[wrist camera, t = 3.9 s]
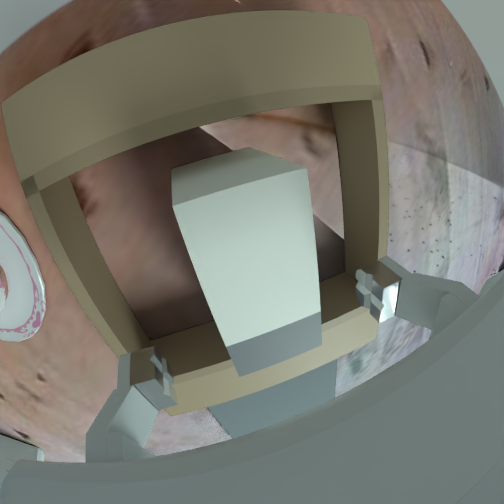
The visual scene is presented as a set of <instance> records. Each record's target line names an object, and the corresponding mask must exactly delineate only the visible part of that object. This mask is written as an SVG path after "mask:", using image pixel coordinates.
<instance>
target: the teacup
mask: <svg viewBox="0 0 504 504" xmlns="http://www.w3.org/2000/svg"><path fill="white" fill-rule="evenodd" d="M0 265H1V267H2V268H3V270H4V272H5V275H6V278H7V282H8V294H7V297H6V295H5V290H4V286H3V283H2V280H1V276H0V339H1V340H4V341H22V340H25V339H27V338H30V337H32V336H33V335H34V334H35V333H36V331H37V330H38V329H39V328H40V327H41V325H42V322H43V318H44V315H45V311H46V294H45V284H44V281H43V278H42V275H41V272H40V269H39V265H38V262H37V260H36V258H35V256H34V254H33V253H32V251H31V249H30V247H29V245H28V243H27V241H26V239H25V237H24V236H23V235H22V234H21V232H20V231H19V230H18V229H17V228H16V226H15V225H14V224H13V223H12V221H11V220H10V219H9V218H8V216H7V215H5V214H4V213H2V212H1V211H0Z"/></svg>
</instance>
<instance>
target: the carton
mask: <svg viewBox="0 0 504 504" xmlns="http://www.w3.org/2000/svg"><path fill="white" fill-rule="evenodd" d="M321 103H331V107H332V113H333V120H334V127H335V134H336V142H337V150H338V159H339V168H340V178H341V190H342V203H343V220H344V243H345V272H343V273H341V274H338V275H336V276H334V277H331V278H329V279H326V280H324V281H321V282H319V291H320V307H321V328H322V345H321V346H319V347H316V348H314V349H312V350H309V351H307V352H305V353H302V354H300V355H297V356H295V357H293V358H290V359H288V360H285V361H283V362H280V363H277V364H275V365H272V366H269V367H267V368H264V369H261V370H259V371H256V372H253V373H250V374H247V375H244V376H241V377H239V375H238V373H237V371H236V368H235V366H234V364H233V362H232V359H231V357H230V355H229V353H228V350H227V348H226V346H225V343H224V341H223V339H222V336H221V334H220V332H219V329H218V327H217V324H216V322H215V320H214V321H211V322H208V323H205V324H202V325H199V326H196V327H193V328H190V329H186V330H183V331H180V332H177V333H173V334H170V335H167V336H164V337H160V338H157V339H153V340H149V338H148V337H147V335H146V334H145V332H144V330H143V329H142V327H141V326H140V324H139V322H138V321H137V319H136V317H135V316H134V314H133V312H132V311H131V309H130V307H129V306H128V304H127V302H126V300H125V299H124V297H123V295H122V293H121V291H120V290H119V288H118V286H117V284H116V282H115V280H114V278H113V276H112V275H111V273H110V271H109V269H108V267H107V265H106V263H105V261H104V259H103V257H102V255H101V253H100V250H99V248H98V246H97V244H96V242H95V240H94V238H93V235H92V233H91V231H90V229H89V226H88V224H87V222H86V219H85V217H84V214H83V212H82V210H81V207H80V205H79V202H78V199H77V197H76V194H75V192H74V189H73V186H72V183H71V181H70V178H69V175H71V174H73V173H75V172H77V171H79V170H82V169H84V168H86V167H88V166H90V165H93V164H95V163H97V162H99V161H102V160H104V159H106V158H109V157H111V156H114V155H116V154H119V153H121V152H124V151H126V150H129V149H132V148H134V147H137V146H140V145H142V144H145V143H148V142H151V141H154V140H157V139H160V138H163V137H166V136H169V135H172V134H175V133H179V132H182V131H185V130H189V129H192V128H196V127H200V126H203V125H207V124H211V123H215V122H219V121H223V120H227V119H231V118H236V117H240V116H245V115H250V114H255V113H260V112H266V111H271V110H277V109H283V108H290V107H297V106H304V105H312V104H321ZM1 107H2V113H3V118H4V123H5V128H6V133H7V137H8V141H9V145H10V149H11V152H12V156H13V159H14V163H15V166H16V169H17V173H18V176H19V179H20V182H21V185H22V187H23V190H24V193H25V196H26V198H27V201H28V204H29V206H30V209H31V211H32V213H33V216H34V218H35V221H36V223H37V225H38V227H39V230H40V232H41V234H42V236H43V238H44V240H45V243H46V245H47V247H48V249H49V251H50V253H51V255H52V257H53V259H54V260H55V262H56V264H57V266H58V268H59V270H60V272H61V273H62V275H63V277H64V279H65V280H66V282H67V284H68V286H69V287H70V289H71V291H72V292H73V294H74V296H75V297H76V299H77V300H78V302H79V304H80V305H81V307H82V308H83V310H84V311H85V313H86V314H87V316H88V317H89V319H90V320H91V322H92V323H93V325H94V326H95V328H96V329H97V330H98V332H99V333H100V335H101V336H102V337H103V339H104V340H105V342H106V343H107V344H108V346H109V347H110V348H111V349H112V351H113V352H114V353H115V355H116V356H117V357H118V358H119V357H120V355H123V354H127V353H131V352H134V351H138V350H141V349H145V348H149V347H152V346H157V347H158V349H159V350H160V351H161V357H162V358H164V359H166V360H167V361H168V363H169V365H170V367H171V369H172V372H173V375H174V381H175V382H174V383H173V385H172V387H173V388H174V389H175V390H176V395H177V401H178V405H176V406H172V407H169V408H165V409H164V410H165V411H166V412H167V413H168V414H169V415H170V416H175V415H179V414H183V413H187V412H191V411H195V410H199V409H203V408H207V407H210V406H214V405H217V404H220V403H224V402H227V401H230V400H234V399H237V398H240V397H243V396H246V395H249V394H252V393H255V392H257V391H260V390H263V389H266V388H268V387H271V386H274V385H276V384H279V383H282V382H284V381H287V380H289V379H292V378H294V377H297V376H299V375H301V374H304V373H306V372H308V371H311V370H313V369H315V368H318V367H320V366H322V365H324V364H326V363H328V362H331V361H333V360H335V359H337V358H339V357H341V356H343V355H345V354H347V353H349V352H351V351H353V350H355V349H357V348H359V347H361V346H363V345H365V344H367V343H368V342H370V341H372V340H374V339H376V337H377V331H378V325H379V322H378V321H377V320H376V319H375V318H374V317H373V316H372V315H371V314H370V309H368V308H365V307H363V306H362V305H361V304H360V302H359V301H358V299H357V296H356V290H355V287H356V285H357V283H358V280H357V279H356V271H357V270H358V269H360V268H362V267H364V266H366V265H368V264H371V263H373V262H375V261H377V260H379V259H381V258H383V257H385V256H387V248H388V230H389V164H388V146H387V133H386V122H385V113H384V105H383V98H382V91H381V84H380V78H379V73H378V67H377V62H376V57H375V52H374V48H373V43H372V39H371V35H370V31H369V27H368V23H367V20H366V17H360V16H354V15H347V14H339V13H329V12H318V11H298V10H268V11H249V12H237V13H228V14H220V15H212V16H206V17H200V18H195V19H189V20H184V21H180V22H175V23H171V24H167V25H163V26H159V27H155V28H152V29H148V30H145V31H142V32H139V33H135V34H132V35H129V36H126V37H124V38H121V39H118V40H115V41H113V42H110V43H107V44H105V45H102V46H100V47H98V48H95V49H93V50H91V51H88V52H86V53H84V54H82V55H80V56H78V57H76V58H73V59H71V60H69V61H67V62H65V63H64V64H62V65H60V66H58V67H56V68H54V69H52V70H51V71H49V72H47V73H45V74H44V75H42V76H40V77H39V78H37V79H35V80H34V81H32V82H31V83H29V84H28V85H26V86H24V87H23V88H21V89H20V90H19V91H17V92H16V93H14V94H13V95H11V96H10V97H9V98H7V99H6V100H5V101H3V102H2V103H1Z"/></svg>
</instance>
